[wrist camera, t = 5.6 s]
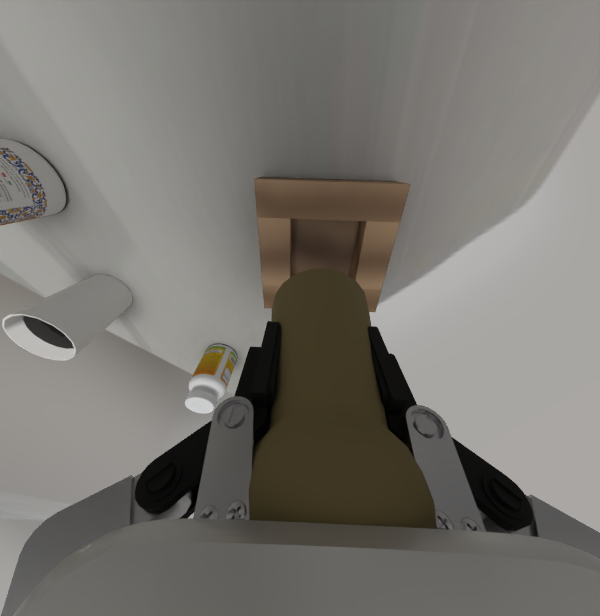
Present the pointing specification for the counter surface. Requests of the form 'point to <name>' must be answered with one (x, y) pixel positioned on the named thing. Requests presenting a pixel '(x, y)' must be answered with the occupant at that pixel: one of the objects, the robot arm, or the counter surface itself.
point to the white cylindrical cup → (68, 317)
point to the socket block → (327, 229)
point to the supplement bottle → (210, 378)
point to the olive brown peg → (332, 419)
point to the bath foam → (27, 184)
